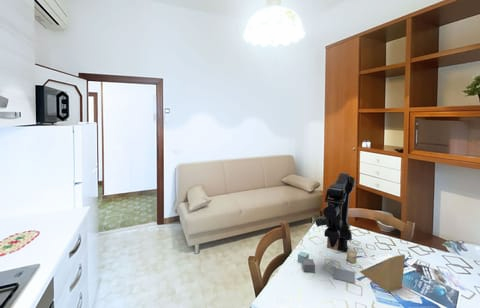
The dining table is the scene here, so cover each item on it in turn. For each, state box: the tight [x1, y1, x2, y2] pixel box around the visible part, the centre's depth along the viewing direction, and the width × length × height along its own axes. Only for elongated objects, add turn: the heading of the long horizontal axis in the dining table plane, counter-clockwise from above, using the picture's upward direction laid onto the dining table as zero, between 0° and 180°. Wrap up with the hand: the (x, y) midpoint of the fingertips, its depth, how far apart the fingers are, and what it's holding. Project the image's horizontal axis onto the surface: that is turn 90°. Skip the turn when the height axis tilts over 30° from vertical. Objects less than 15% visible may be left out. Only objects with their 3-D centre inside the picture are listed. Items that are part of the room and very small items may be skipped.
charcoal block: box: [301, 258, 316, 274], centre depth 118 cm, size 5×5×4 cm
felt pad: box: [332, 267, 356, 285], centre depth 113 cm, size 9×9×1 cm
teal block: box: [297, 250, 310, 264], centre depth 125 cm, size 4×4×4 cm
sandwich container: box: [359, 254, 406, 293], centre depth 111 cm, size 9×15×15 cm, turn 20°
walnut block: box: [326, 237, 338, 251], centre depth 118 cm, size 4×4×5 cm
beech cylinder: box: [346, 248, 357, 264], centre depth 126 cm, size 4×4×5 cm
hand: (332, 244), depth 119 cm, fingers closed on walnut block, 4 cm apart
